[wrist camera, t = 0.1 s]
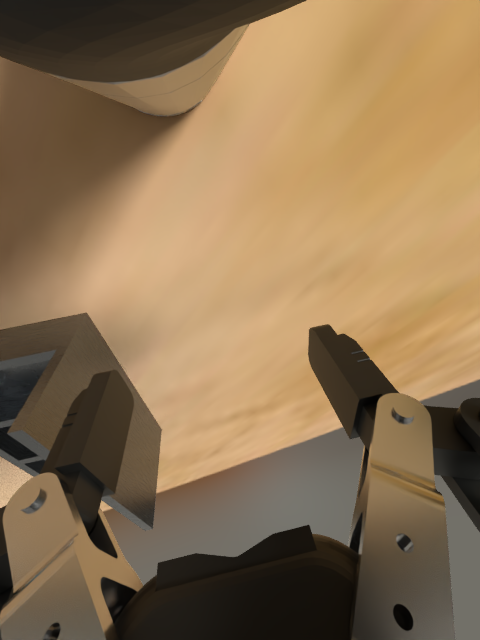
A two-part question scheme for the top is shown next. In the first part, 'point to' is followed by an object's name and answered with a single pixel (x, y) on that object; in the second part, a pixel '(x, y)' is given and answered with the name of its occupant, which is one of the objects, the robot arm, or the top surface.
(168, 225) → the top surface
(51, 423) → the rack
